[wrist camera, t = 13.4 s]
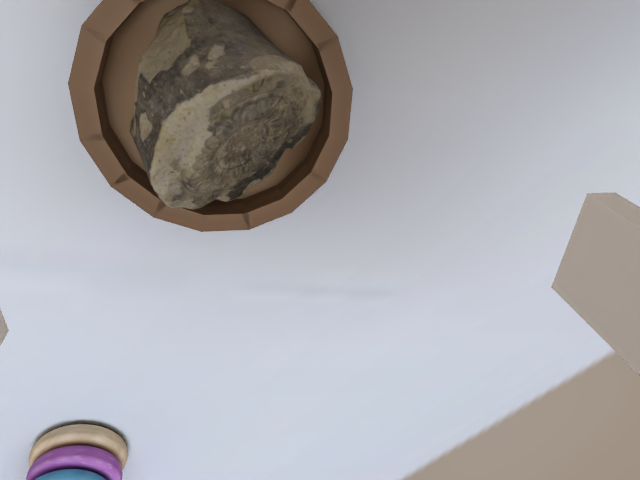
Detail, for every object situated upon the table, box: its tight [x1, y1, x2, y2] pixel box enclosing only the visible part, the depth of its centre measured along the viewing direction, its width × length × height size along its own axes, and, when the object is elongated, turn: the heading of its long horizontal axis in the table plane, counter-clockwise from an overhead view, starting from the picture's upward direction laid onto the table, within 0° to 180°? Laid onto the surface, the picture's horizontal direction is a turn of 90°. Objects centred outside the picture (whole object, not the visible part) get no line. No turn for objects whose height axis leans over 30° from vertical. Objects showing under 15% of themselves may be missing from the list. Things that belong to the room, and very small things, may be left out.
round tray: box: [68, 0, 353, 232], centre depth 28 cm, size 15×15×3 cm
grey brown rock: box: [129, 0, 321, 210], centre depth 26 cm, size 11×9×10 cm
